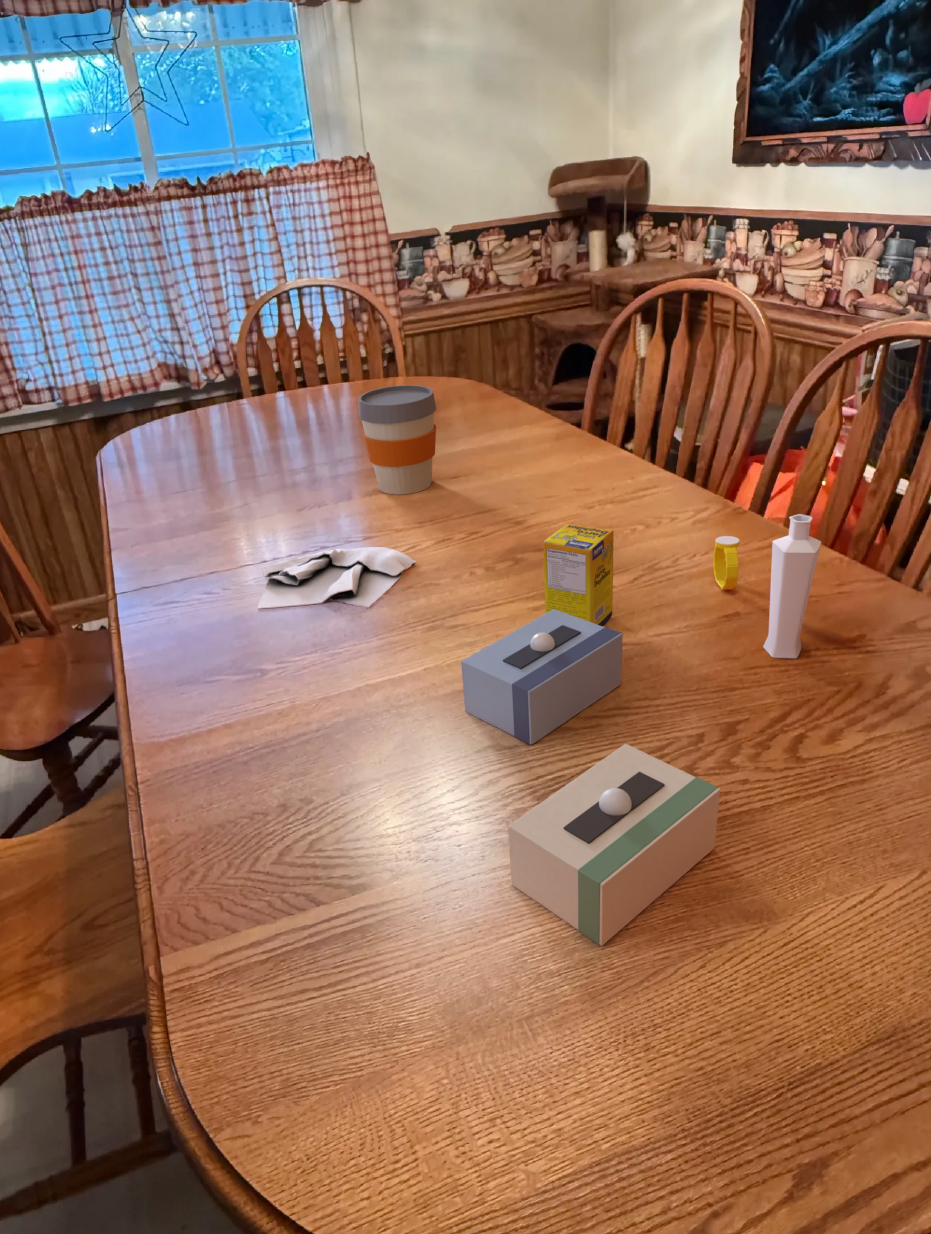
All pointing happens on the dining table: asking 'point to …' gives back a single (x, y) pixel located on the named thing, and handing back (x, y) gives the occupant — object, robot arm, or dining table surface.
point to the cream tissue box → (613, 840)
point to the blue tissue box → (542, 674)
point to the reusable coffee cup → (400, 436)
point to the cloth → (334, 577)
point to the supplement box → (579, 572)
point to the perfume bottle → (790, 587)
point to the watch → (726, 549)
